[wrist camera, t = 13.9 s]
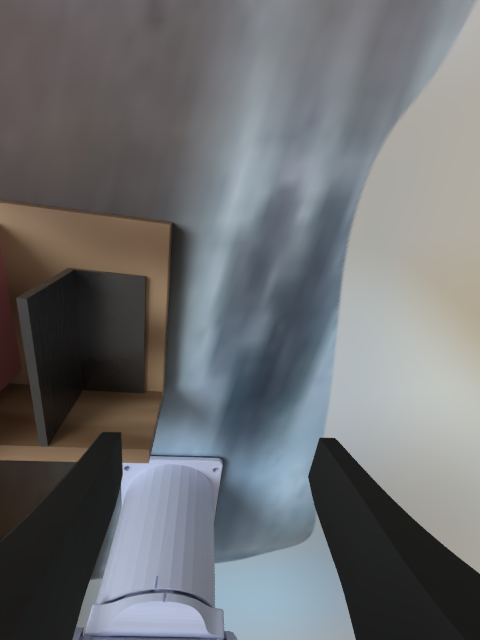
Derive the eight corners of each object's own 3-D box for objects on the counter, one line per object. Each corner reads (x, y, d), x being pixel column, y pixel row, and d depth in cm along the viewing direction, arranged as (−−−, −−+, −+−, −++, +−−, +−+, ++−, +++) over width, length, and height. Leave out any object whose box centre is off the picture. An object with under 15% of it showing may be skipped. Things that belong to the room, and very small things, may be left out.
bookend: (144, 390, 21) (125, 449, 16) (78, 387, 20) (39, 446, 15) (146, 275, 17) (124, 307, 13) (68, 267, 17) (15, 297, 12)
